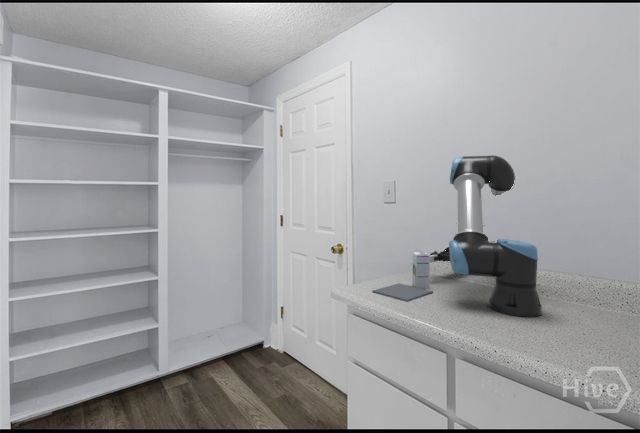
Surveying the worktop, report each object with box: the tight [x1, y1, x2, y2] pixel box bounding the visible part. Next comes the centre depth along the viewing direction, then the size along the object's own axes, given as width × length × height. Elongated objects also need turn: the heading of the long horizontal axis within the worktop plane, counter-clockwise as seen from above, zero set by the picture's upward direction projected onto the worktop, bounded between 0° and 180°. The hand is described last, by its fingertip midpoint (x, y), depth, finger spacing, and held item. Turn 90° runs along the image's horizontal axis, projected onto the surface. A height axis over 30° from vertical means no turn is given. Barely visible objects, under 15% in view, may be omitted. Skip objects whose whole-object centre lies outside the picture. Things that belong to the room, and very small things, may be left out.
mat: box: [372, 283, 434, 303], centre depth 128 cm, size 18×16×1 cm
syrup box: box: [412, 251, 430, 290], centre depth 136 cm, size 6×6×14 cm
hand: (428, 259), depth 141 cm, fingers closed
